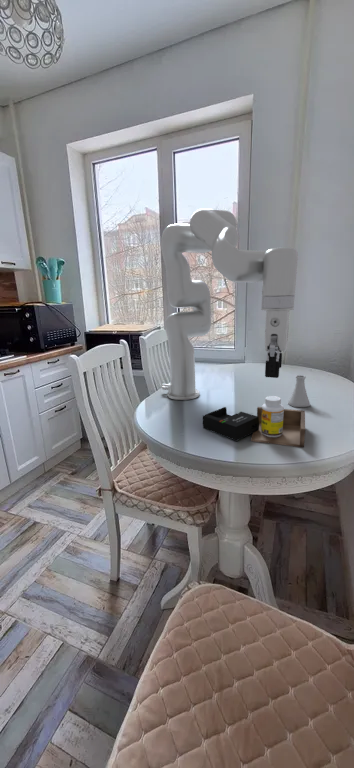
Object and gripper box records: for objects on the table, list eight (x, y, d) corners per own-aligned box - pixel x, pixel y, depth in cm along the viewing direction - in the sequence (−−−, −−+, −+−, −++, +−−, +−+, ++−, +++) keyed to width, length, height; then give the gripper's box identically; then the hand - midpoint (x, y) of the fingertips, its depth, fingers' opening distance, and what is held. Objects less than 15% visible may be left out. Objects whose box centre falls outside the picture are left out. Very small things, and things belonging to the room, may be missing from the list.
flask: (306, 400, 112) (308, 373, 109) (313, 408, 105) (315, 378, 102) (285, 401, 113) (287, 373, 110) (290, 408, 106) (292, 379, 103)
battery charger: (259, 429, 89) (259, 416, 88) (236, 441, 83) (236, 427, 82) (225, 418, 99) (224, 406, 98) (202, 428, 93) (201, 415, 92)
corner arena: (250, 441, 84) (251, 423, 82) (257, 422, 96) (257, 406, 94) (303, 447, 79) (305, 429, 78) (303, 427, 91) (304, 410, 90)
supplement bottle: (259, 430, 89) (259, 395, 86) (279, 429, 89) (280, 394, 86) (264, 438, 83) (265, 402, 81) (285, 438, 83) (287, 401, 81)
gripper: (293, 305, 68) (287, 382, 73) (295, 301, 83) (290, 365, 88) (257, 306, 70) (253, 380, 75) (265, 301, 86) (262, 363, 91)
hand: (273, 372), depth 82 cm, fingers open, 9 cm apart
